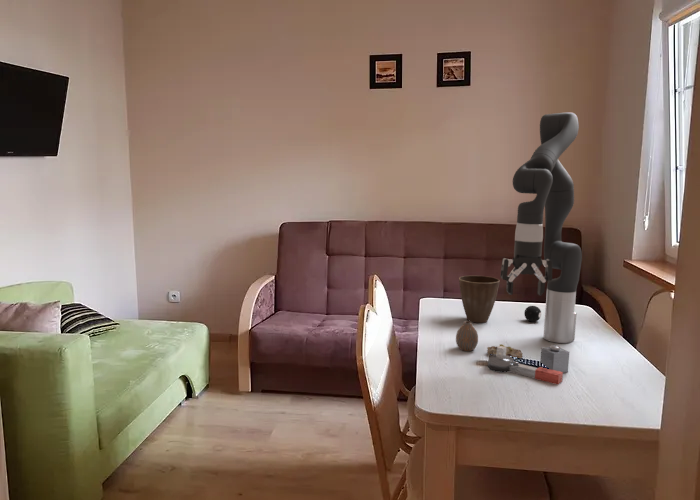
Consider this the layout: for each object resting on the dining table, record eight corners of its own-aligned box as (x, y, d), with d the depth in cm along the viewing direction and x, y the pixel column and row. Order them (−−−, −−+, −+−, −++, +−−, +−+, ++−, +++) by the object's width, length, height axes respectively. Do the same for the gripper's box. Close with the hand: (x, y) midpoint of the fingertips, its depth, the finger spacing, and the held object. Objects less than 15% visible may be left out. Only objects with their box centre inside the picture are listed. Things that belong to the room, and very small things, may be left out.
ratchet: (494, 362, 170) (495, 342, 170) (564, 379, 158) (566, 357, 157) (483, 368, 165) (485, 347, 164) (555, 386, 152) (557, 364, 151)
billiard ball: (528, 318, 222) (529, 303, 221) (543, 321, 218) (544, 306, 217) (521, 321, 218) (522, 305, 217) (535, 324, 214) (537, 308, 213)
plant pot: (450, 321, 215) (453, 279, 212) (465, 313, 227) (467, 273, 225) (489, 328, 207) (492, 284, 205) (502, 319, 220) (504, 278, 217)
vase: (477, 353, 178) (479, 326, 177) (455, 351, 180) (456, 324, 178) (477, 346, 185) (478, 320, 184) (455, 345, 186) (456, 318, 185)
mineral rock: (486, 352, 173) (488, 338, 180) (485, 364, 175) (487, 349, 182) (523, 357, 170) (523, 342, 178) (522, 369, 172) (522, 354, 179)
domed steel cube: (554, 365, 169) (556, 342, 168) (567, 372, 164) (569, 348, 163) (539, 367, 167) (541, 344, 166) (552, 374, 162) (554, 350, 161)
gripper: (549, 237, 167) (545, 292, 170) (500, 236, 167) (497, 291, 170) (558, 241, 160) (554, 298, 162) (507, 240, 160) (503, 297, 162)
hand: (524, 294), depth 166 cm, fingers open, 8 cm apart
